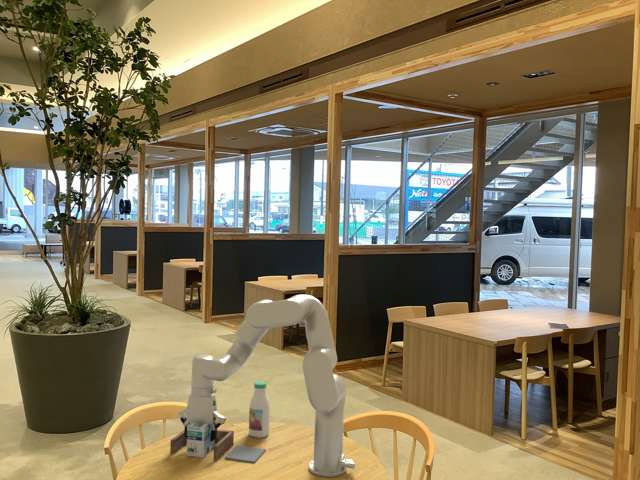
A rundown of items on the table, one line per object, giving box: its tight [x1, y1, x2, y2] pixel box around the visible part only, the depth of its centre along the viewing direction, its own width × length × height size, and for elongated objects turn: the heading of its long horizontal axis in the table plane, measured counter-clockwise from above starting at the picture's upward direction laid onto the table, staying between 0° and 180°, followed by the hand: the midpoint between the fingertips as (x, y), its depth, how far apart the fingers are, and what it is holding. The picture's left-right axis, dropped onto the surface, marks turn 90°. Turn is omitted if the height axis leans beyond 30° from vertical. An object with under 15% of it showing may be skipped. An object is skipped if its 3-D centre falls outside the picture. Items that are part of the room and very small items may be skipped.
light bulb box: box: [186, 419, 217, 459], centre depth 207 cm, size 11×7×11 cm, turn 168°
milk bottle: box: [248, 380, 271, 439], centre depth 223 cm, size 8×8×20 cm
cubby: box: [169, 428, 235, 462], centre depth 208 cm, size 17×15×5 cm
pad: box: [224, 444, 266, 464], centre depth 205 cm, size 11×11×1 cm
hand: (200, 438), depth 207 cm, fingers open, 9 cm apart
